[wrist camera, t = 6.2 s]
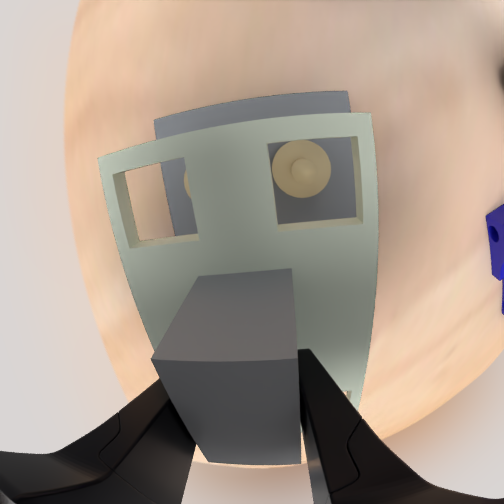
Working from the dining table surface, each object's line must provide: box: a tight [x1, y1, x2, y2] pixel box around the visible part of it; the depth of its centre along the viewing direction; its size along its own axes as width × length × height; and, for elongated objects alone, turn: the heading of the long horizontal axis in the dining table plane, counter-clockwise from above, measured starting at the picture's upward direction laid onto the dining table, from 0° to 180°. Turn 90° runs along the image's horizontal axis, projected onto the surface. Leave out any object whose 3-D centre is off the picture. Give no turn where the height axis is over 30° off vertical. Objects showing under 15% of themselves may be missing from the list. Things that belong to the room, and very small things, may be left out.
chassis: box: [154, 91, 357, 236], centre depth 17 cm, size 12×19×4 cm, turn 8°
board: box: [98, 113, 379, 465], centre depth 8 cm, size 9×14×5 cm, turn 8°
